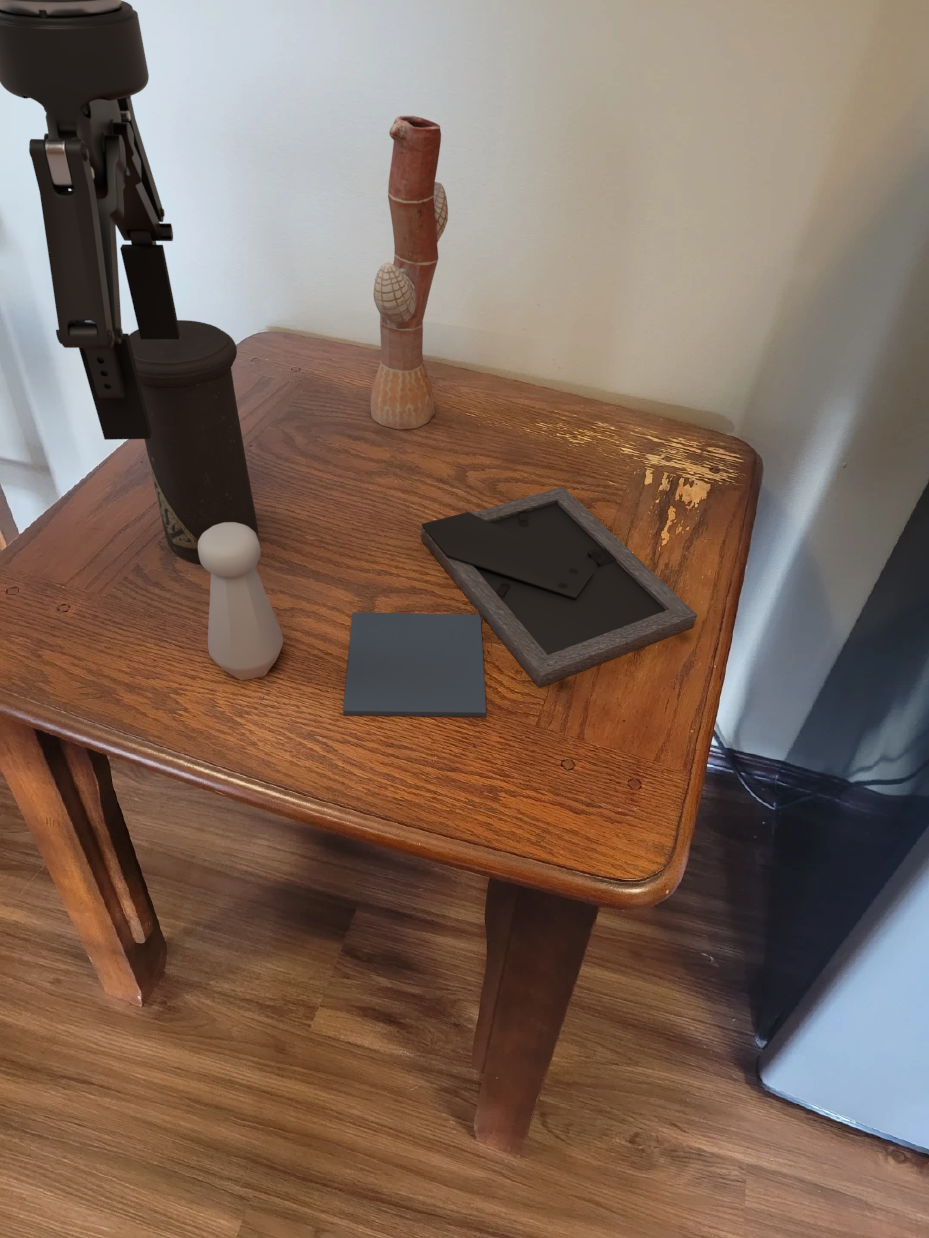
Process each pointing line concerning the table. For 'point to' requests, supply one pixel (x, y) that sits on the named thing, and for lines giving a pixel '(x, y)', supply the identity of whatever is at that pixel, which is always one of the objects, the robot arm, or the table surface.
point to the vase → (408, 275)
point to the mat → (415, 665)
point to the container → (194, 433)
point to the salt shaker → (238, 603)
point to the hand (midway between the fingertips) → (146, 383)
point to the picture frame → (555, 584)
